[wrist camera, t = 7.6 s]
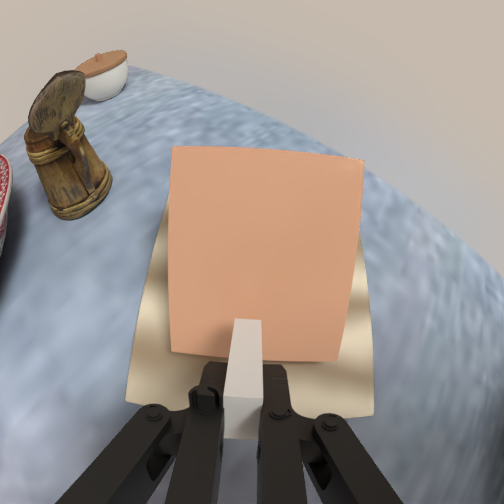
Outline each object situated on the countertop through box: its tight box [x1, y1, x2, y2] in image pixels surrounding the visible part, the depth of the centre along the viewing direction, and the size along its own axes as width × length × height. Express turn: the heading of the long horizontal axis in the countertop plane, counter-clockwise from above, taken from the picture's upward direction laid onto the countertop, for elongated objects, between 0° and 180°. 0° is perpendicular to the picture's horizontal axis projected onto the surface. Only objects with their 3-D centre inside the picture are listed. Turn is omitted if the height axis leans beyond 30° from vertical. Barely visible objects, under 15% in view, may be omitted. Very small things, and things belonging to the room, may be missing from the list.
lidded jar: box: [75, 50, 128, 102], centre depth 40 cm, size 11×11×9 cm
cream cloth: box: [125, 196, 374, 419], centre depth 25 cm, size 22×20×1 cm
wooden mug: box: [24, 70, 112, 220], centre depth 23 cm, size 9×14×18 cm, turn 57°
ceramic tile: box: [168, 146, 364, 362], centre depth 20 cm, size 3×12×14 cm
